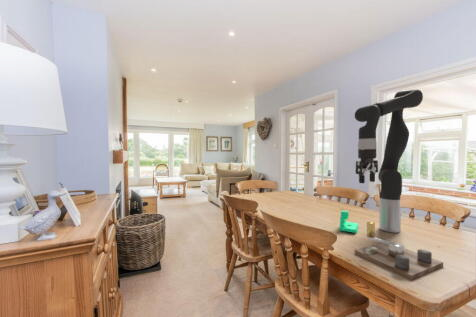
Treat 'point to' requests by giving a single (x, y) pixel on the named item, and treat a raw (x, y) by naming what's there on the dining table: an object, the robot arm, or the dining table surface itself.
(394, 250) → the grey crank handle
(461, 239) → the dining table surface
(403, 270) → the base
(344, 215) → the camera mount
